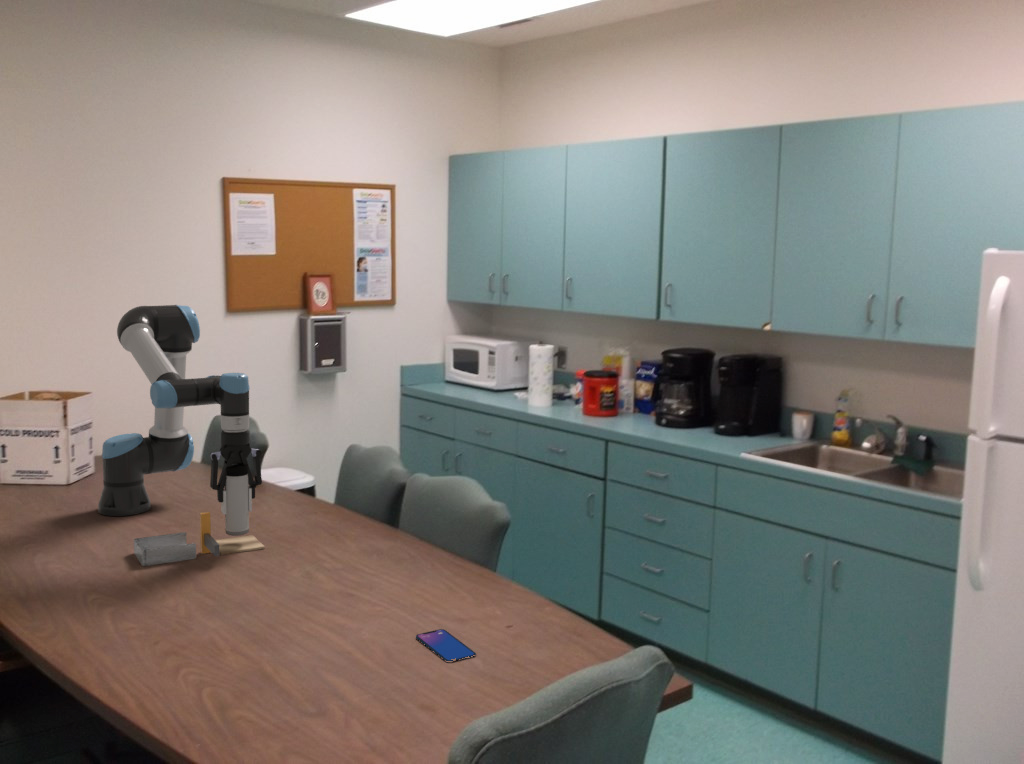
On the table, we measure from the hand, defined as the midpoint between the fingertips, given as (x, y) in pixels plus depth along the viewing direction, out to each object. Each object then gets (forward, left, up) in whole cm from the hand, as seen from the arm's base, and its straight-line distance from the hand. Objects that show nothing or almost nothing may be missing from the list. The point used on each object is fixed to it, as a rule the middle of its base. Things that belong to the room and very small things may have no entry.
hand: (236, 511), depth 261 cm
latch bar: (+7, -9, -10) cm, 15 cm away
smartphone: (+87, +20, -10) cm, 90 cm away
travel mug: (0, 0, -6) cm, 6 cm away
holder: (0, -20, -10) cm, 22 cm away
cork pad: (0, 0, -10) cm, 10 cm away
